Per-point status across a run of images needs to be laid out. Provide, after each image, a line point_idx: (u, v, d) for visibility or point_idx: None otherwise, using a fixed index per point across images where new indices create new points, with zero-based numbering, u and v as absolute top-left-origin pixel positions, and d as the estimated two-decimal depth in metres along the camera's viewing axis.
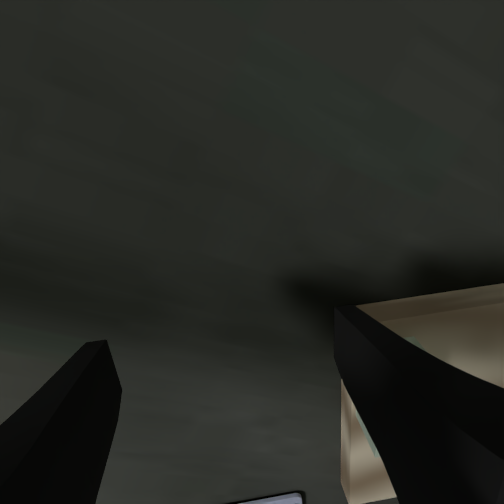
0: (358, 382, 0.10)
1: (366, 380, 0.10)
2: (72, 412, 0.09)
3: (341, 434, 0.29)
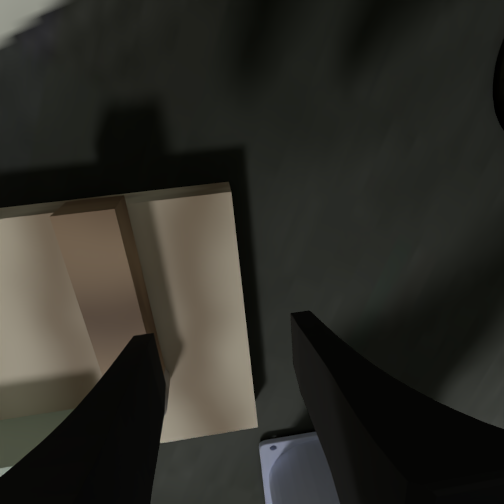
0: (310, 390, 0.10)
1: (315, 388, 0.10)
2: (133, 403, 0.09)
3: None
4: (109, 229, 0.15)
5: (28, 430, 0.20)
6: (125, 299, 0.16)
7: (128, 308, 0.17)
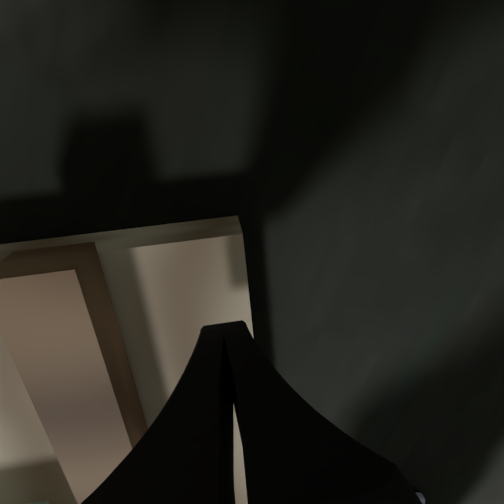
0: (234, 402, 0.10)
1: (235, 401, 0.10)
2: (222, 389, 0.09)
3: None
4: (68, 297, 0.10)
5: None
6: (95, 387, 0.12)
7: (100, 398, 0.12)
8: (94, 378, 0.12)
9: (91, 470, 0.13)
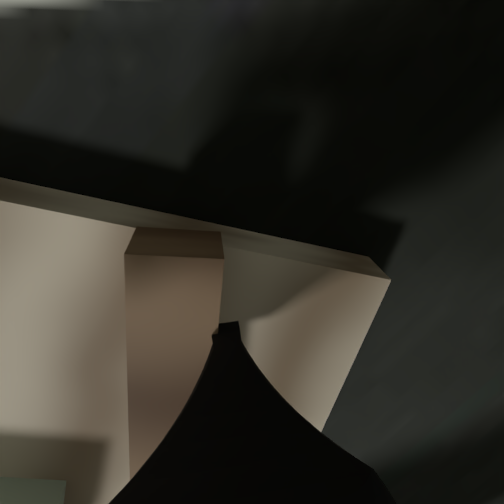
0: None
1: None
2: None
3: None
4: (207, 286, 0.10)
5: None
6: (196, 382, 0.11)
7: None
8: (199, 372, 0.11)
9: None
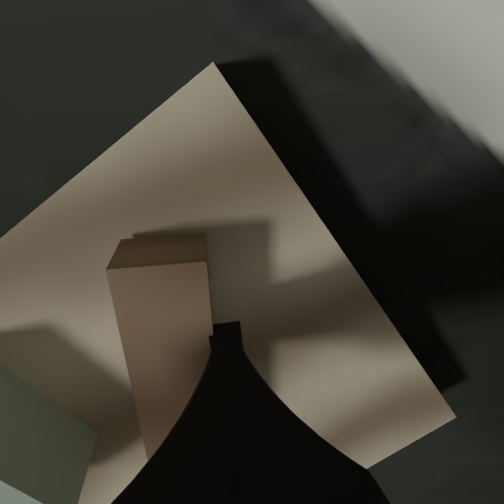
0: None
1: None
2: None
3: None
4: (193, 290, 0.10)
5: (35, 422, 0.13)
6: None
7: None
8: None
9: None
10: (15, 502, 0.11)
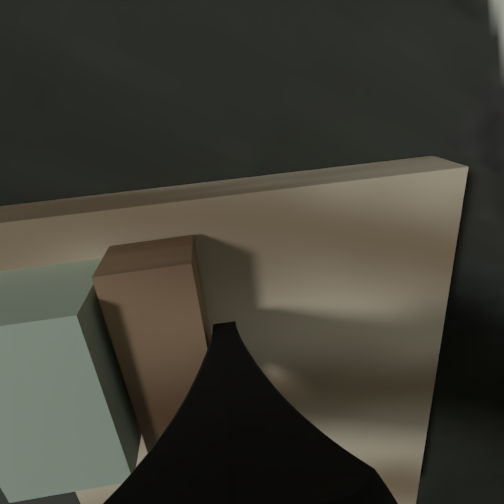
0: None
1: None
2: None
3: None
4: (181, 293, 0.10)
5: None
6: None
7: None
8: None
9: None
10: (102, 444, 0.10)
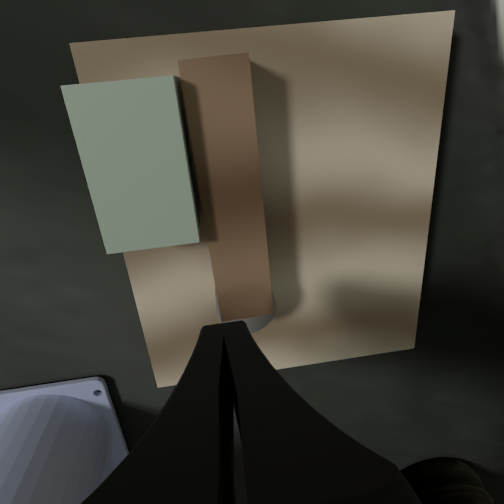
0: (234, 402, 0.10)
1: (235, 401, 0.10)
2: (222, 389, 0.09)
3: None
4: (240, 79, 0.13)
5: (191, 168, 0.16)
6: (247, 171, 0.15)
7: (249, 182, 0.15)
8: (248, 161, 0.15)
9: (231, 258, 0.16)
10: (179, 201, 0.14)
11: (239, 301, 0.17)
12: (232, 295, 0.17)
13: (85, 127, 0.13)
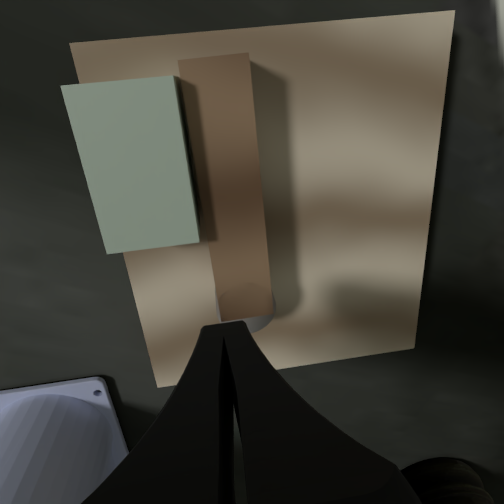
0: (234, 402, 0.10)
1: (235, 401, 0.10)
2: (222, 389, 0.09)
3: None
4: (240, 79, 0.13)
5: (191, 168, 0.16)
6: (247, 171, 0.15)
7: (249, 182, 0.15)
8: (248, 161, 0.15)
9: (231, 258, 0.16)
10: (179, 201, 0.14)
11: (239, 301, 0.17)
12: (232, 295, 0.17)
13: (85, 127, 0.13)
